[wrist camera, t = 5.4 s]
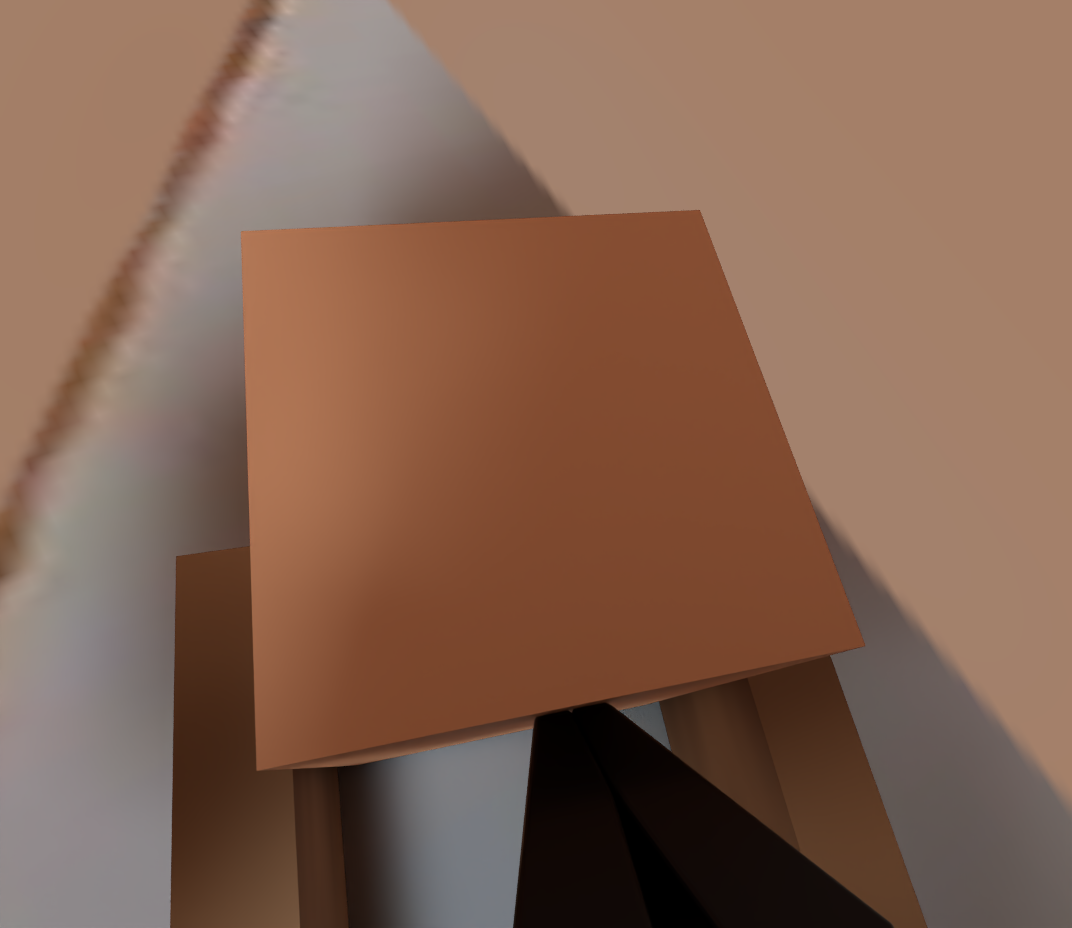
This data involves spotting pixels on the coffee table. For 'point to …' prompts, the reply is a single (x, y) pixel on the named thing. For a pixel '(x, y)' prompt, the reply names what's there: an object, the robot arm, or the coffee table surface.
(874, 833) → the walnut chute
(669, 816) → the robot arm
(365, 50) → the coffee table surface
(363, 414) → the terracotta block
